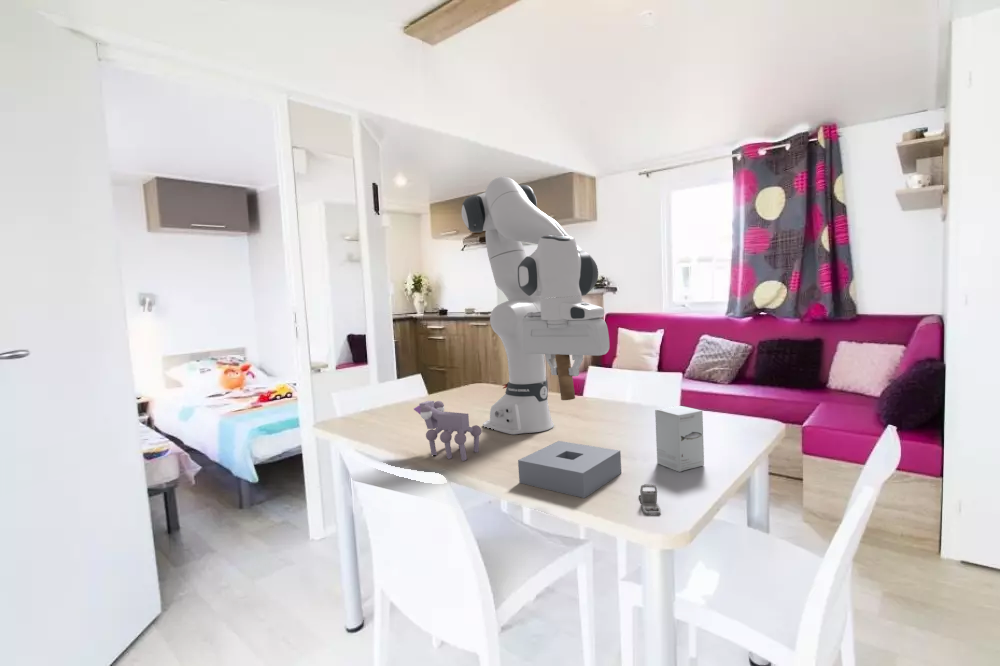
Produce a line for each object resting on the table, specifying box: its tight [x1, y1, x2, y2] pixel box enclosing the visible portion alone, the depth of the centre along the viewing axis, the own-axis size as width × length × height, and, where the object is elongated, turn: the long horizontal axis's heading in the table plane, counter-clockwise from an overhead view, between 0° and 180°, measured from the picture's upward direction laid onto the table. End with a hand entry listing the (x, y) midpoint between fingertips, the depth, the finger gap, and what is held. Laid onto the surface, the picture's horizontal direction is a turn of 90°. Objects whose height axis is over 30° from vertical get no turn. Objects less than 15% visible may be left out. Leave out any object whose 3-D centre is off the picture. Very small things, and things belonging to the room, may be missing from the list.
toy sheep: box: [413, 400, 483, 462], centre depth 133 cm, size 20×11×14 cm, turn 58°
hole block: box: [517, 440, 622, 499], centre depth 109 cm, size 16×16×5 cm
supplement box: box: [654, 405, 705, 473], centre depth 112 cm, size 7×7×13 cm
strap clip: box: [638, 483, 662, 516], centre depth 93 cm, size 8×3×4 cm, turn 172°
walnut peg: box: [555, 354, 576, 401], centre depth 108 cm, size 3×3×10 cm
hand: (565, 375), depth 108 cm, fingers closed on walnut peg, 3 cm apart
